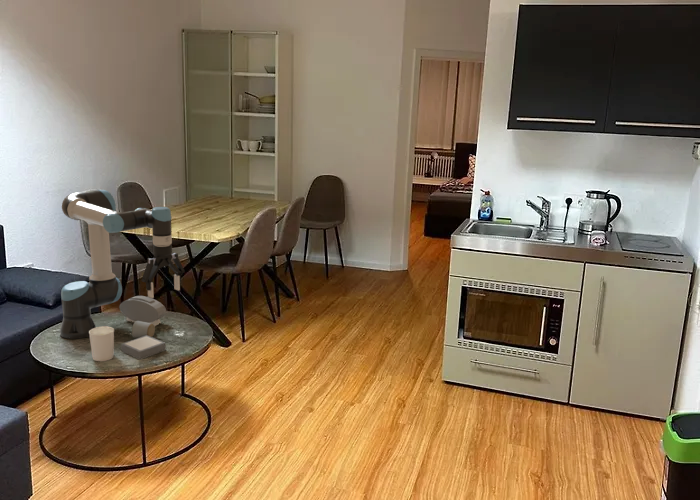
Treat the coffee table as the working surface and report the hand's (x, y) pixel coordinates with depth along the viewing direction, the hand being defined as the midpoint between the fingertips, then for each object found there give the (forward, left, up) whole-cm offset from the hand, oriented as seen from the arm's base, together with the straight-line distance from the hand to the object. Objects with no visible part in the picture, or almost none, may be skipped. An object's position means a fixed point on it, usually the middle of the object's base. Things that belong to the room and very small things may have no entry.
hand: (164, 293), depth 262 cm
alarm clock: (-38, +16, -27) cm, 49 cm away
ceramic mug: (-22, +5, -27) cm, 35 cm away
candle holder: (-16, -20, -27) cm, 37 cm away
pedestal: (-9, -5, -27) cm, 29 cm away
